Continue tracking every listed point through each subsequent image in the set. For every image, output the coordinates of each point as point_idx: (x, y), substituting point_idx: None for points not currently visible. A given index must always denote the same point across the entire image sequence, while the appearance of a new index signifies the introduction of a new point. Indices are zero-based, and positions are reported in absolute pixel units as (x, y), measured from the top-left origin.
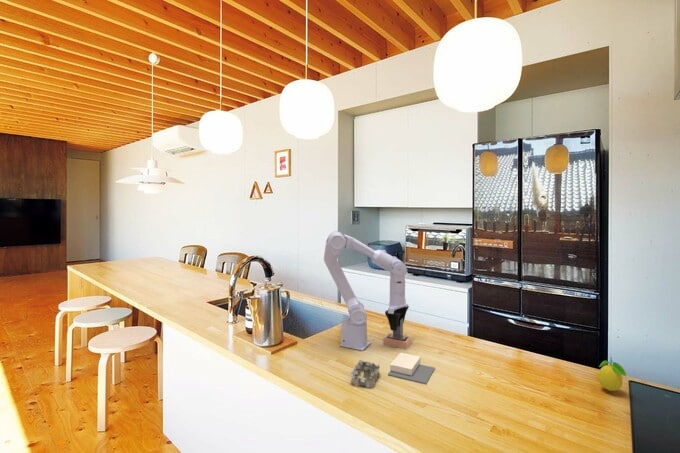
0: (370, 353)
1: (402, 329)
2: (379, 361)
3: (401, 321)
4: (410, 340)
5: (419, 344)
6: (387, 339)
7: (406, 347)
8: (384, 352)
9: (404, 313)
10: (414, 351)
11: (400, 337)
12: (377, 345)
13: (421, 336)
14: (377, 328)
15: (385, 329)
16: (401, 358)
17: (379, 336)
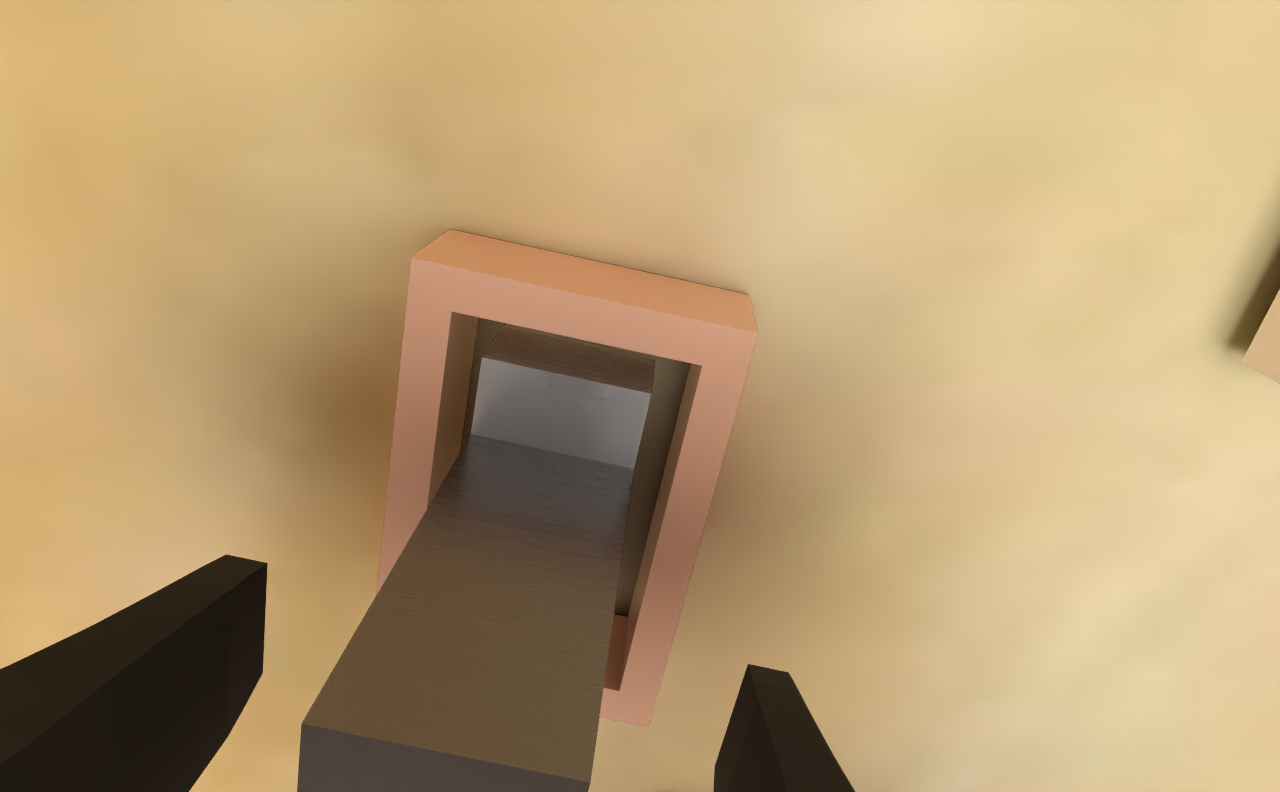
0: (1002, 761)
1: (463, 516)
2: (1273, 631)
3: (488, 698)
4: (487, 257)
5: (449, 62)
6: (664, 658)
7: (743, 301)
8: (941, 603)
9: (13, 775)
10: (815, 137)
11: (627, 476)
12: (702, 713)
13: (18, 50)
14: None
15: None
16: None
17: None
